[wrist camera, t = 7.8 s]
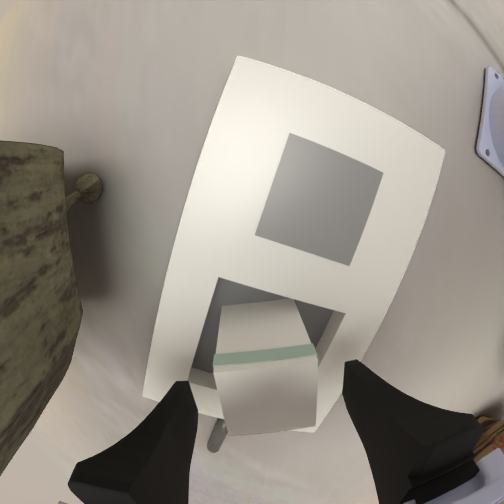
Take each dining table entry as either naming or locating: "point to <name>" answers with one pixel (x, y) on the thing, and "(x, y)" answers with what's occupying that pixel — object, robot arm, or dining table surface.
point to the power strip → (291, 227)
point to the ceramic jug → (489, 438)
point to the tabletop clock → (35, 284)
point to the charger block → (265, 368)
